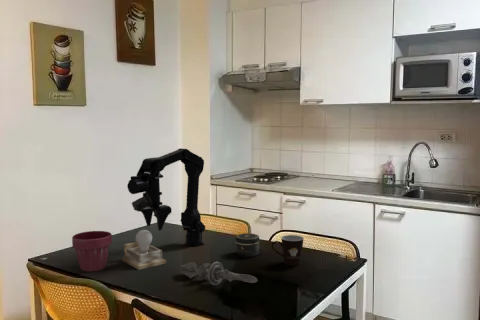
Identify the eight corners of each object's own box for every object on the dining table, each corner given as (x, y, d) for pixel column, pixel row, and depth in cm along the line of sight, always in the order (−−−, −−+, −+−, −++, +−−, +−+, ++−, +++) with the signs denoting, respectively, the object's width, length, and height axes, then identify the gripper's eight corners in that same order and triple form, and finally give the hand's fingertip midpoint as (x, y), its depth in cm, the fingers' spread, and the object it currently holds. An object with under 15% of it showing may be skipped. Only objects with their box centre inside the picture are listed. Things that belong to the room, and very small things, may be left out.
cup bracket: (149, 254, 190) (148, 239, 190) (166, 263, 180) (166, 246, 179) (122, 260, 183) (121, 244, 182) (138, 269, 172) (138, 252, 171)
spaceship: (246, 277, 141) (260, 261, 147) (169, 266, 163) (184, 252, 169) (254, 297, 144) (267, 281, 149) (177, 284, 166) (191, 270, 171)
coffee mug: (306, 261, 181) (306, 236, 180) (299, 267, 173) (299, 242, 172) (278, 257, 186) (278, 233, 185) (270, 263, 178) (270, 238, 177)
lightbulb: (137, 254, 183) (136, 228, 182) (153, 254, 184) (152, 227, 183) (135, 260, 177) (134, 232, 176) (152, 259, 178) (151, 231, 176)
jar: (231, 256, 188) (231, 237, 188) (240, 249, 197) (240, 232, 197) (254, 258, 185) (254, 240, 184) (262, 251, 194) (262, 234, 193)
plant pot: (101, 259, 185) (100, 228, 183) (119, 267, 175) (118, 234, 173) (67, 267, 175) (65, 235, 173) (83, 277, 165) (82, 242, 163)
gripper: (123, 189, 185) (125, 227, 187) (145, 196, 171) (147, 236, 173) (148, 186, 192) (149, 222, 194) (171, 192, 178) (172, 231, 180)
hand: (154, 228), depth 185 cm, fingers open, 9 cm apart
